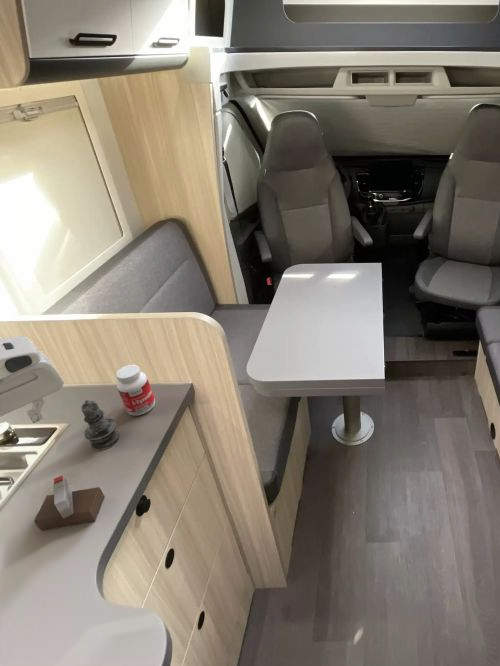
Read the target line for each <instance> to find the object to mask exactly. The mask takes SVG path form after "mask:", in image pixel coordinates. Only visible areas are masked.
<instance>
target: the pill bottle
mask: <svg viewBox="0 0 500 666" xmlns="http://www.w3.org/2000/svg"><path fill="white" fill-rule="evenodd" d="M115 376H116V379H117V382H116V388H117V391H118V393H119V396H120V399H121V401H122V403H123V406H124V408H125V410H126V413H127V414H128V415H131V416H134V417H137V416H142V415H144V414H147V413H148V412H150V411H151V410H152V409H154V407H155V405H156V399H155V396H154V393H153V390H152V387H151V384H150V382H149V379H148V377H147V375H146V374H145V372H143V371H141V368H140V366H138V365H137V364H128V365H125V366H122V367H121V368H120V369H118V370H117V372H116V374H115Z"/></svg>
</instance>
